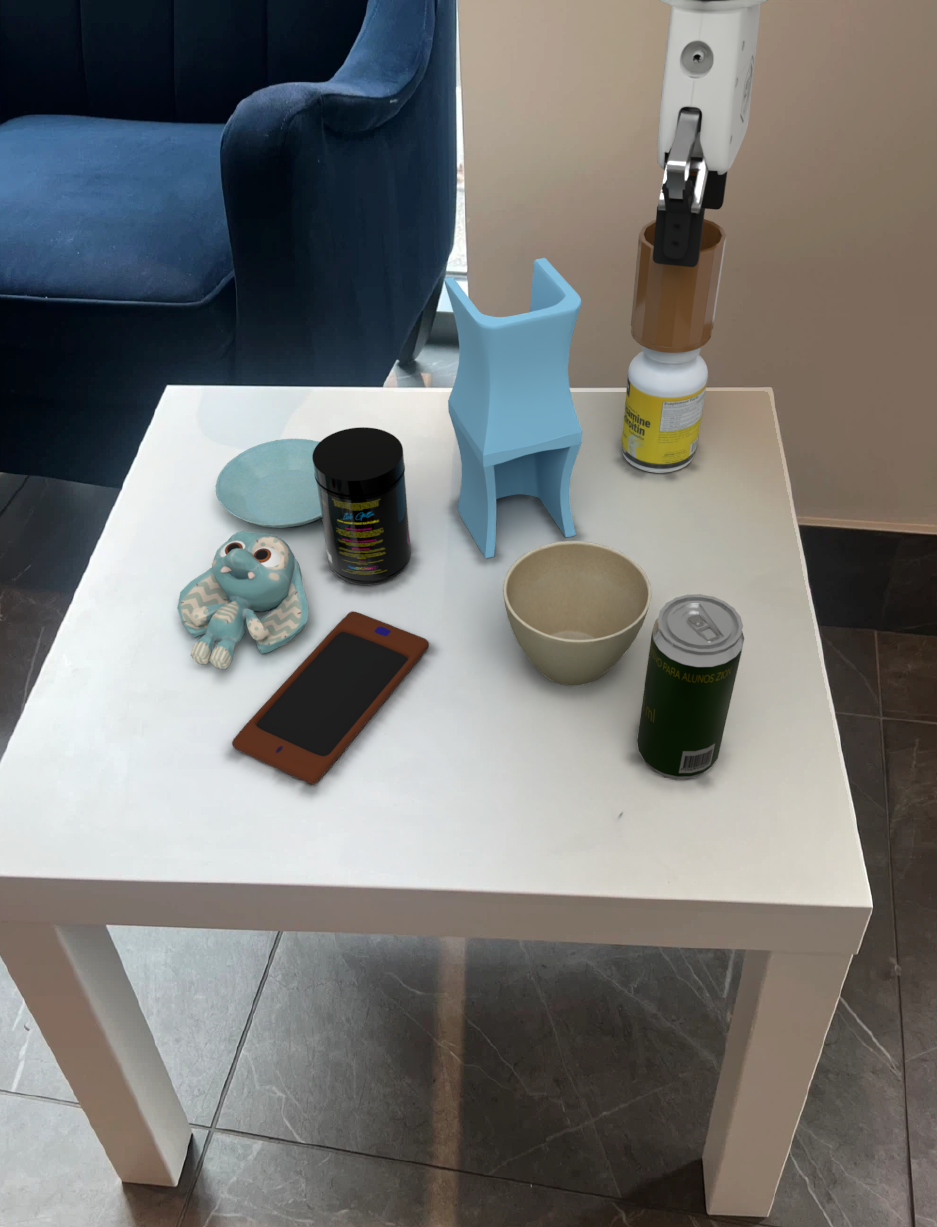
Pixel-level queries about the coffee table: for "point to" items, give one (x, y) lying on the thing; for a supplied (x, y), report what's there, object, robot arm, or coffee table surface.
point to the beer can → (689, 685)
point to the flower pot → (575, 608)
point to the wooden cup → (676, 294)
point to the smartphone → (330, 697)
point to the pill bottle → (663, 409)
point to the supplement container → (363, 504)
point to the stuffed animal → (244, 598)
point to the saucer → (272, 484)
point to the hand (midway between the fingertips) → (688, 234)
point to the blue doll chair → (515, 404)
